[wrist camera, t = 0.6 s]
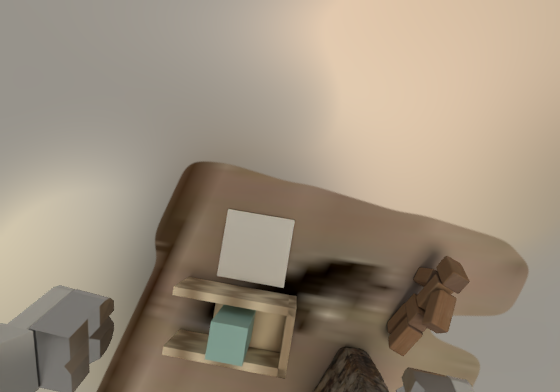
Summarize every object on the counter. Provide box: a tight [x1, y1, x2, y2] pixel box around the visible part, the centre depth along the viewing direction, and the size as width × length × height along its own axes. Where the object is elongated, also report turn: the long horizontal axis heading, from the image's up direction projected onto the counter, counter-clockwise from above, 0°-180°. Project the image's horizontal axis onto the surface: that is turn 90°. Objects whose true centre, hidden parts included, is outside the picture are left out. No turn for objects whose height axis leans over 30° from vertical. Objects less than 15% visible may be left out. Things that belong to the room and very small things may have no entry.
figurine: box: [387, 256, 469, 356], centre depth 49 cm, size 13×2×15 cm
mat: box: [217, 209, 295, 288], centre depth 56 cm, size 11×11×1 cm
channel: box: [162, 277, 297, 379], centre depth 52 cm, size 18×10×7 cm, turn 81°
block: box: [205, 305, 256, 366], centre depth 49 cm, size 5×5×9 cm
